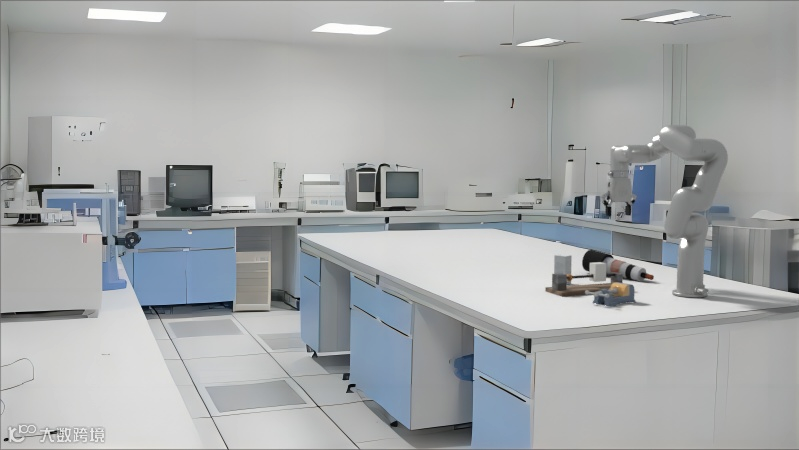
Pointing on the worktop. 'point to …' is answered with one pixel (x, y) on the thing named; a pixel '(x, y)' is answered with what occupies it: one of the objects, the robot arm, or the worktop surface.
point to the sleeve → (597, 271)
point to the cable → (615, 266)
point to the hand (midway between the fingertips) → (618, 215)
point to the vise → (614, 294)
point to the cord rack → (562, 289)
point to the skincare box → (562, 264)
